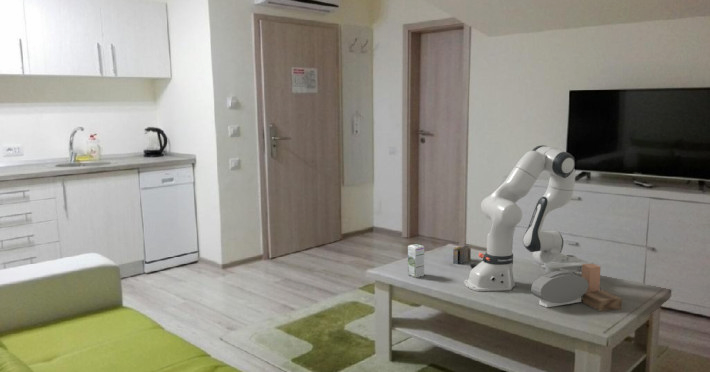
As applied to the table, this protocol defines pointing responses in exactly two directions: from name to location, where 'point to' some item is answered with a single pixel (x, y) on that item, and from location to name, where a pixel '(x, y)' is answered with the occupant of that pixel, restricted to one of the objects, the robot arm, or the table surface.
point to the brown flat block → (461, 254)
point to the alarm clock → (559, 288)
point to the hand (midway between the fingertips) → (578, 272)
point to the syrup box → (416, 260)
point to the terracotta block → (591, 276)
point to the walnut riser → (602, 300)
